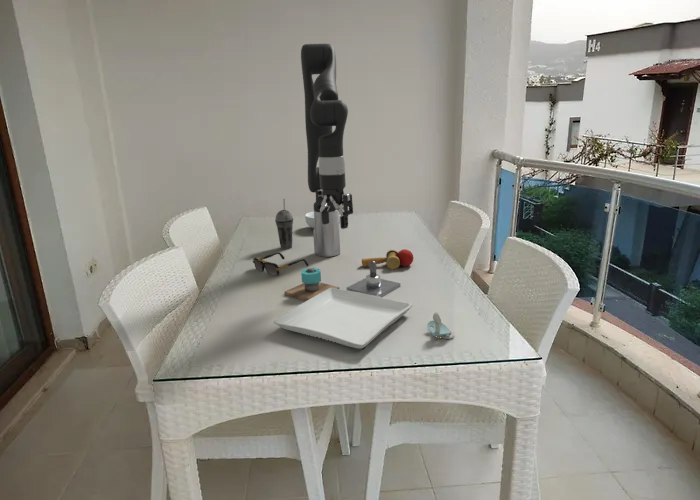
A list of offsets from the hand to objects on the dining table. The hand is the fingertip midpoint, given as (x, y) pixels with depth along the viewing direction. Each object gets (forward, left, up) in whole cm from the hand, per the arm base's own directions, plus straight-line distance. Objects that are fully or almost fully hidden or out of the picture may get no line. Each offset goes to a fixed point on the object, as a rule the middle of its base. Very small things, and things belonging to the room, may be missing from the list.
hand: (334, 226), depth 147 cm
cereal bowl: (-54, +54, -21) cm, 79 cm away
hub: (+9, +6, -20) cm, 23 cm away
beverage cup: (-47, +23, -21) cm, 56 cm away
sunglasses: (-31, +5, -21) cm, 38 cm away
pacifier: (+41, -9, -21) cm, 47 cm away
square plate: (+17, -18, -21) cm, 32 cm away
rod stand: (-5, -7, -20) cm, 22 cm away
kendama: (+1, +26, -21) cm, 33 cm away
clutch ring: (-5, -7, -16) cm, 18 cm away
